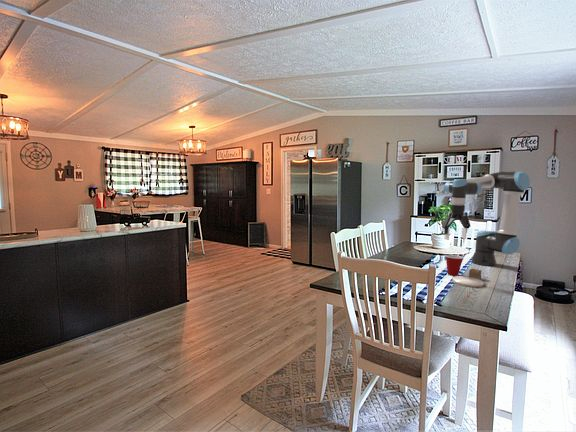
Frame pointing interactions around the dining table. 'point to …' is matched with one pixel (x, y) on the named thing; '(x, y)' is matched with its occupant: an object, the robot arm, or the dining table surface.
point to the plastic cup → (453, 264)
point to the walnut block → (475, 273)
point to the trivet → (468, 281)
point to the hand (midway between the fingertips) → (455, 239)
